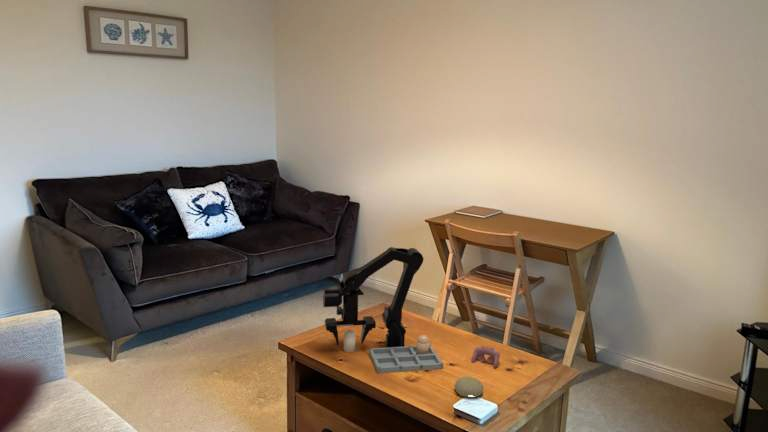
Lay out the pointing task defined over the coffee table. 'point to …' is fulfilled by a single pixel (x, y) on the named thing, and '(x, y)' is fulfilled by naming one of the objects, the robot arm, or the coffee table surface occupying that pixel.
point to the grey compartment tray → (404, 359)
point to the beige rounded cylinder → (422, 345)
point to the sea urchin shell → (468, 386)
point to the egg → (349, 341)
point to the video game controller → (483, 351)
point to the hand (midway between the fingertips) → (349, 344)
